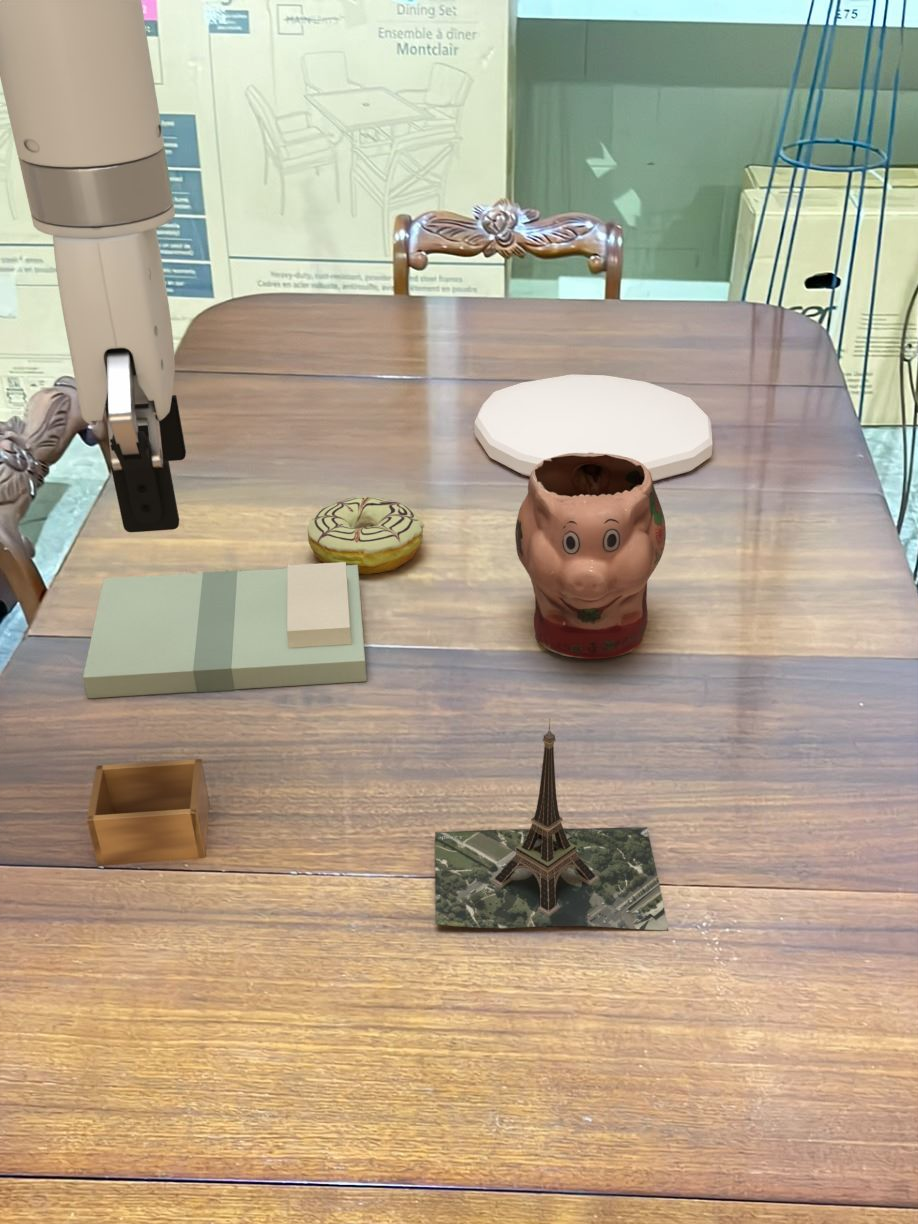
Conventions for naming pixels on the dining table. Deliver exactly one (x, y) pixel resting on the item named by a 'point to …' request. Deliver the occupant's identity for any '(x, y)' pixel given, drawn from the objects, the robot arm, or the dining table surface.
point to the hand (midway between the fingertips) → (157, 492)
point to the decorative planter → (590, 551)
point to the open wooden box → (146, 830)
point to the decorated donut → (366, 534)
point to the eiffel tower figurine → (547, 872)
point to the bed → (227, 631)
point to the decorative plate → (594, 423)
